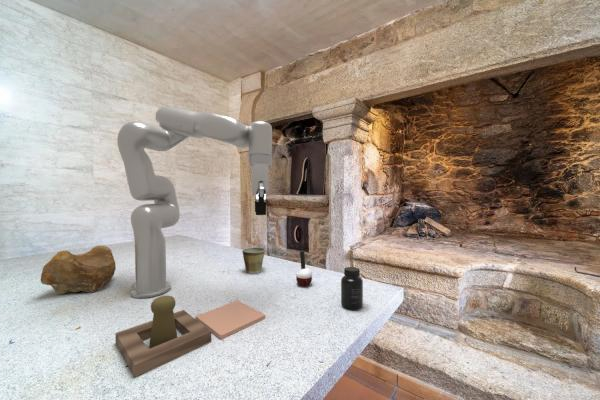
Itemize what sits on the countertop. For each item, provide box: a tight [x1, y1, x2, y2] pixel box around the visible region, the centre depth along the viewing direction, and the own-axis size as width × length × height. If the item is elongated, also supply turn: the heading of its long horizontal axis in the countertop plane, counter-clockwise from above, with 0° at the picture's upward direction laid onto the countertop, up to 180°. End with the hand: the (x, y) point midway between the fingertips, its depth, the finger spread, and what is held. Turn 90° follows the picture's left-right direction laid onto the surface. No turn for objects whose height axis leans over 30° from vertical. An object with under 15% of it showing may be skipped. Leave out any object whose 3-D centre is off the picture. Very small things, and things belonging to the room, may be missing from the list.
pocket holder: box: [115, 309, 212, 378], centre depth 60 cm, size 16×16×2 cm
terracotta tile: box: [195, 299, 266, 340], centre depth 71 cm, size 14×14×1 cm
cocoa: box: [295, 250, 313, 288], centre depth 97 cm, size 10×6×12 cm, turn 168°
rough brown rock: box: [40, 245, 117, 295], centre depth 93 cm, size 23×17×15 cm
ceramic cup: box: [242, 246, 266, 275], centre depth 114 cm, size 13×10×10 cm
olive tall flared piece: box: [148, 295, 178, 349], centre depth 60 cm, size 6×6×11 cm
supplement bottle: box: [340, 266, 364, 311], centre depth 80 cm, size 7×7×12 cm
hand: (260, 213), depth 82 cm, fingers open, 9 cm apart
